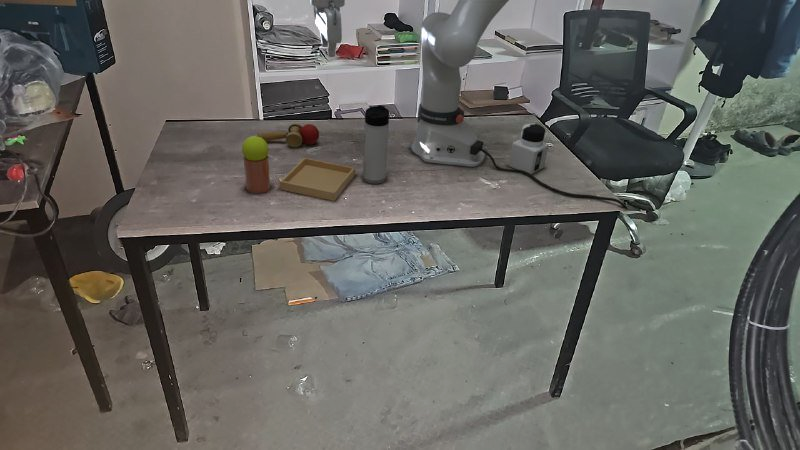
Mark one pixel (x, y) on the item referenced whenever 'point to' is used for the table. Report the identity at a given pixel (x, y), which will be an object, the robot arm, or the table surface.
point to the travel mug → (375, 144)
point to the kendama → (294, 135)
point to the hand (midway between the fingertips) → (328, 51)
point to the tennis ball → (255, 148)
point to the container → (529, 149)
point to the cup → (257, 175)
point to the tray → (318, 179)
